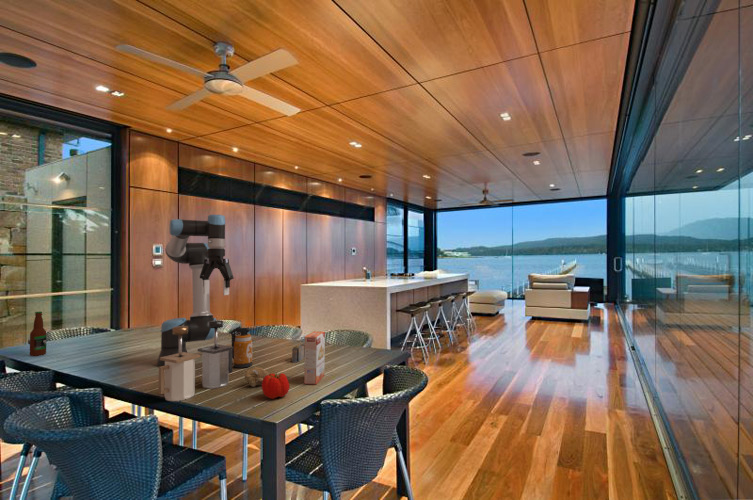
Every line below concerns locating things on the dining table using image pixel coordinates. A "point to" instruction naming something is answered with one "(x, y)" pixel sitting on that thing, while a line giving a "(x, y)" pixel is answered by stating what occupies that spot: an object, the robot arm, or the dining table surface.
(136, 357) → the dining table surface
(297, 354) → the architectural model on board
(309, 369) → the cracker box
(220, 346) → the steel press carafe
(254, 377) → the seashell
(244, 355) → the canister
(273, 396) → the tomato
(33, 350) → the bottle
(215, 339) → the steel plunger
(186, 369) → the ceramic press carafe
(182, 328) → the brass press plunger
